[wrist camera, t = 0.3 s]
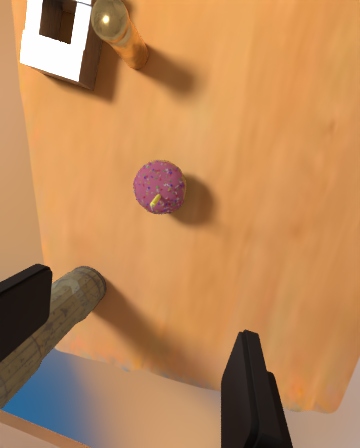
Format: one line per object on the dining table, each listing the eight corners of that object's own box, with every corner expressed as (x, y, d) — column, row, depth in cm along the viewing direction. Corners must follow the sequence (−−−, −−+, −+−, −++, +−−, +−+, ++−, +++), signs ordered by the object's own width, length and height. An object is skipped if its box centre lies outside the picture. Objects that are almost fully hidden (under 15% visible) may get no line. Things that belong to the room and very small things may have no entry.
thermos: (65, 300, 50) (-254, 570, 16) (72, 254, 46) (-311, 475, 13) (101, 314, 49) (-159, 630, 15) (111, 268, 45) (-194, 543, 12)
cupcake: (198, 196, 39) (188, 208, 27) (157, 217, 41) (133, 236, 30) (175, 151, 38) (156, 144, 26) (135, 175, 40) (100, 178, 28)
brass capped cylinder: (126, 33, 35) (95, -11, 26) (153, 42, 34) (130, -1, 26) (119, 66, 36) (87, 34, 27) (145, 74, 36) (121, 44, 27)
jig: (54, -26, 34) (31, -52, 30) (112, -9, 34) (96, -34, 29) (41, 73, 38) (20, 61, 34) (93, 90, 38) (77, 80, 33)
